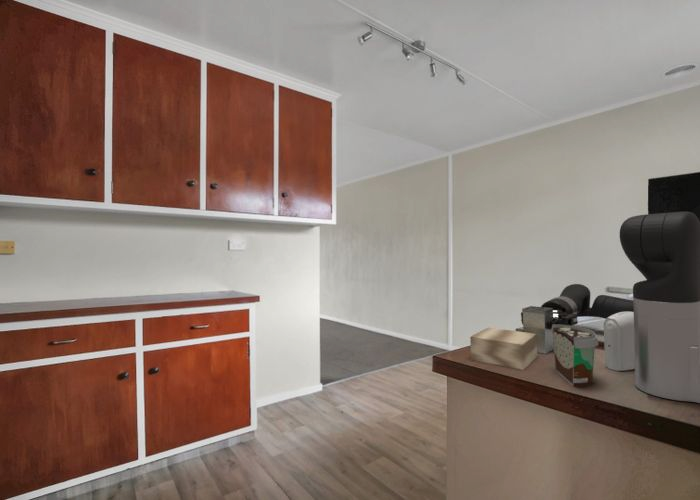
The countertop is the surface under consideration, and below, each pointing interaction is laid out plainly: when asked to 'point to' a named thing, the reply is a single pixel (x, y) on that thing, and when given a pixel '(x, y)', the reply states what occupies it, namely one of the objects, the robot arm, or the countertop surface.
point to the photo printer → (619, 341)
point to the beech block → (504, 347)
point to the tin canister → (539, 326)
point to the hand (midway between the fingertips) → (535, 323)
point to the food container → (574, 353)
